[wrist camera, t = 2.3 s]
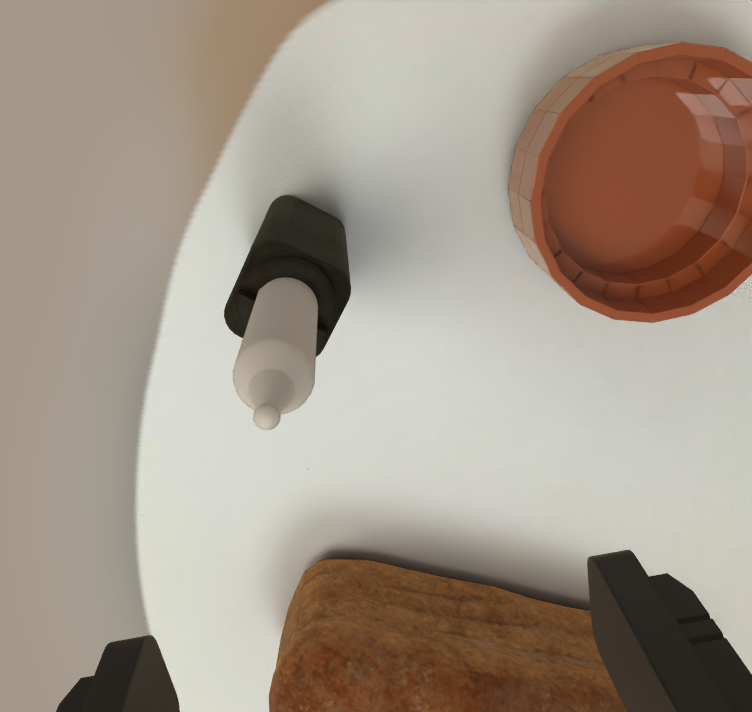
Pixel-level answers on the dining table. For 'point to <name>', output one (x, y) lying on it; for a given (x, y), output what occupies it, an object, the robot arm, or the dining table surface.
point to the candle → (287, 306)
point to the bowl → (641, 181)
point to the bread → (432, 647)
